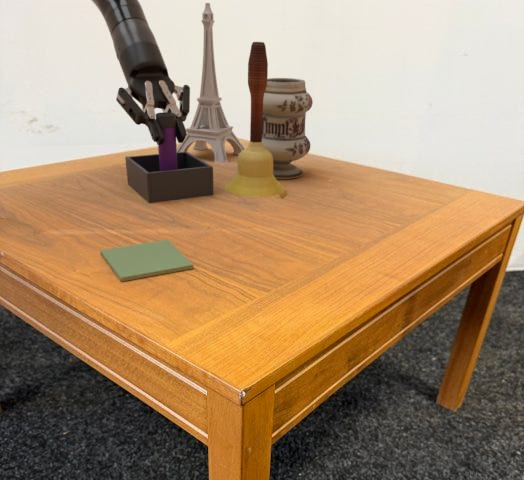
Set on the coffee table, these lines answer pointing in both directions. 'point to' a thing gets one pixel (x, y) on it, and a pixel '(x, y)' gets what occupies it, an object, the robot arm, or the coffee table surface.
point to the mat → (145, 260)
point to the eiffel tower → (210, 106)
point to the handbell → (256, 137)
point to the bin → (169, 178)
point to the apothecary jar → (285, 124)
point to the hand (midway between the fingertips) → (171, 140)
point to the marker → (167, 141)
